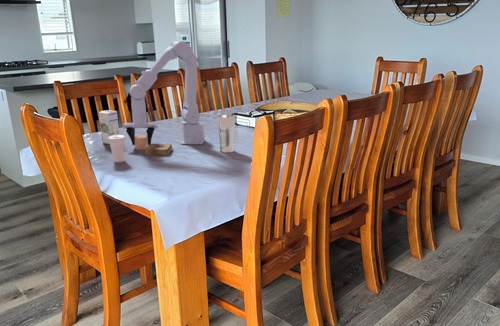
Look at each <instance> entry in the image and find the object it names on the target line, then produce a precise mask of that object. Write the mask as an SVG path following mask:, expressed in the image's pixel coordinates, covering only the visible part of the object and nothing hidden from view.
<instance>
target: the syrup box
mask: <svg viewBox="0 0 500 326" xmlns="http://www.w3.org/2000/svg"><path fill="white" fill-rule="evenodd" d="M98 114H99V124H100V125H99V126H100V131H101V140H102V144H105V145H108V146H110V142H109V140H108V137H109V136H113V135H115V132H114V125H115V126H116V135H120V128H119V119H118V118H119V117H118V116H119V115H118V111H117V110H110V109H106V110H104V109H103V110H101V111H99V112H98Z"/></svg>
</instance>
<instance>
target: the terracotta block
mask: <svg viewBox="0 0 500 326" xmlns="http://www.w3.org/2000/svg"><path fill="white" fill-rule="evenodd" d="M148 146H149V145H148V137H147V134H146V135H142V134H141V135H140V134H139V135H135V145H134V147H135V148H134V149H135V150H145V149H146V148H147V147H148Z"/></svg>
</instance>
